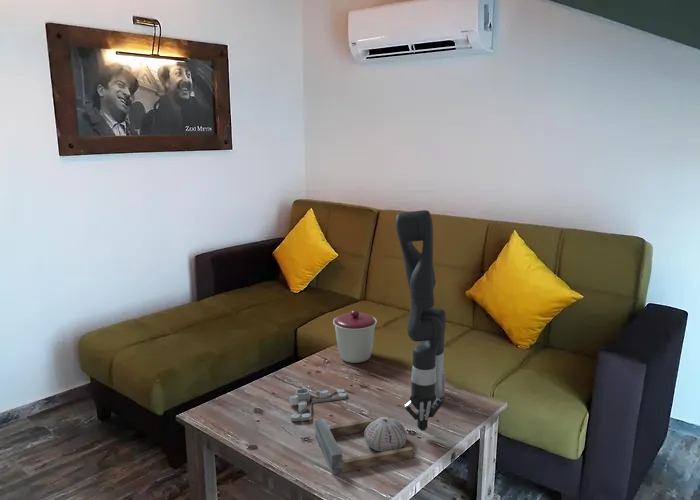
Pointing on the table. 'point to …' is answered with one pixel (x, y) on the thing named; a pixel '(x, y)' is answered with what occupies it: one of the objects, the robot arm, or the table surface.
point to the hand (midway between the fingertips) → (422, 429)
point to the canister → (355, 336)
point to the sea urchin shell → (385, 434)
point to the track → (338, 465)
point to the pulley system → (304, 396)
